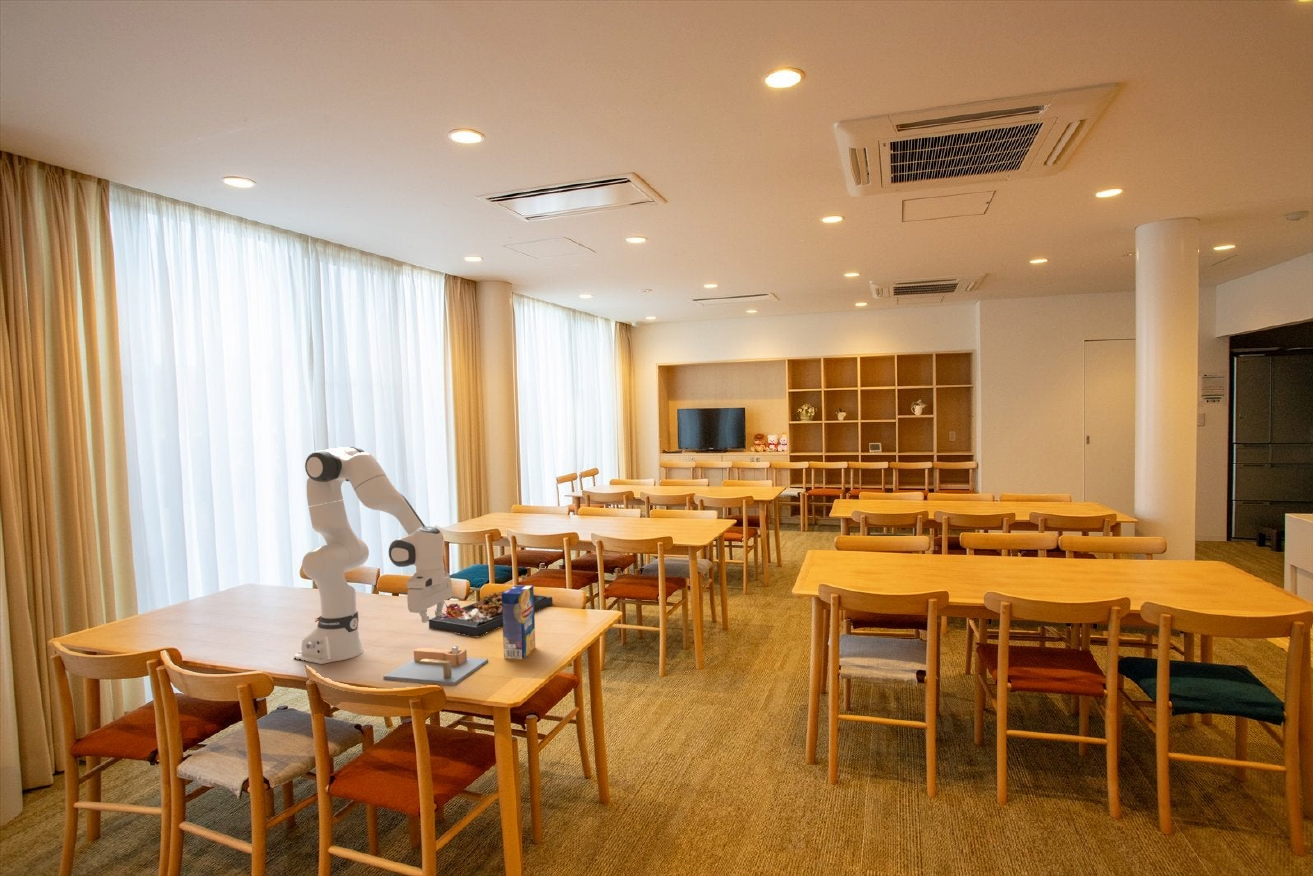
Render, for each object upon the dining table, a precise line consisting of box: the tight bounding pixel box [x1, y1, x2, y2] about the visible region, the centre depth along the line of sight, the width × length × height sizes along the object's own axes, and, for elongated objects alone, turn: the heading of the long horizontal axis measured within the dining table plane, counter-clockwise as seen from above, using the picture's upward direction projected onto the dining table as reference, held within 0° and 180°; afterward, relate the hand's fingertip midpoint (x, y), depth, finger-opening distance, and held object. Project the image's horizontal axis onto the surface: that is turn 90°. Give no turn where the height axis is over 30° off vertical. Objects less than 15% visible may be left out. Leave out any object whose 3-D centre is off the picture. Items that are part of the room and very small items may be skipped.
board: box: [382, 656, 489, 686], centre depth 219 cm, size 25×20×1 cm
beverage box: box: [502, 584, 536, 659], centre depth 231 cm, size 7×11×22 cm, turn 169°
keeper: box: [420, 659, 452, 679], centre depth 211 cm, size 10×2×5 cm, turn 75°
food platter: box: [428, 590, 554, 637], centre depth 276 cm, size 45×25×10 cm, turn 151°
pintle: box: [451, 645, 459, 654], centre depth 222 cm, size 2×2×5 cm
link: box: [413, 647, 468, 666], centre depth 224 cm, size 17×5×3 cm, turn 75°
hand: (432, 618), depth 224 cm, fingers open, 6 cm apart
